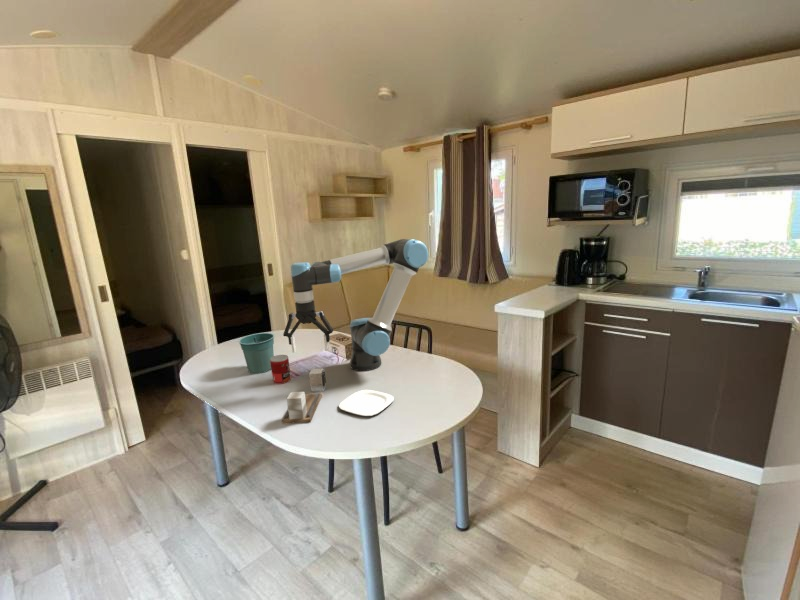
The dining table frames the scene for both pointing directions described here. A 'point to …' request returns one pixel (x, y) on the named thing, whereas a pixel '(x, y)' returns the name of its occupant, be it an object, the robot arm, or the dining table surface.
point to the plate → (366, 402)
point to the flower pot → (258, 351)
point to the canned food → (280, 369)
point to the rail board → (308, 404)
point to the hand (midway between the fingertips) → (310, 350)
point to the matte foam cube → (317, 380)
